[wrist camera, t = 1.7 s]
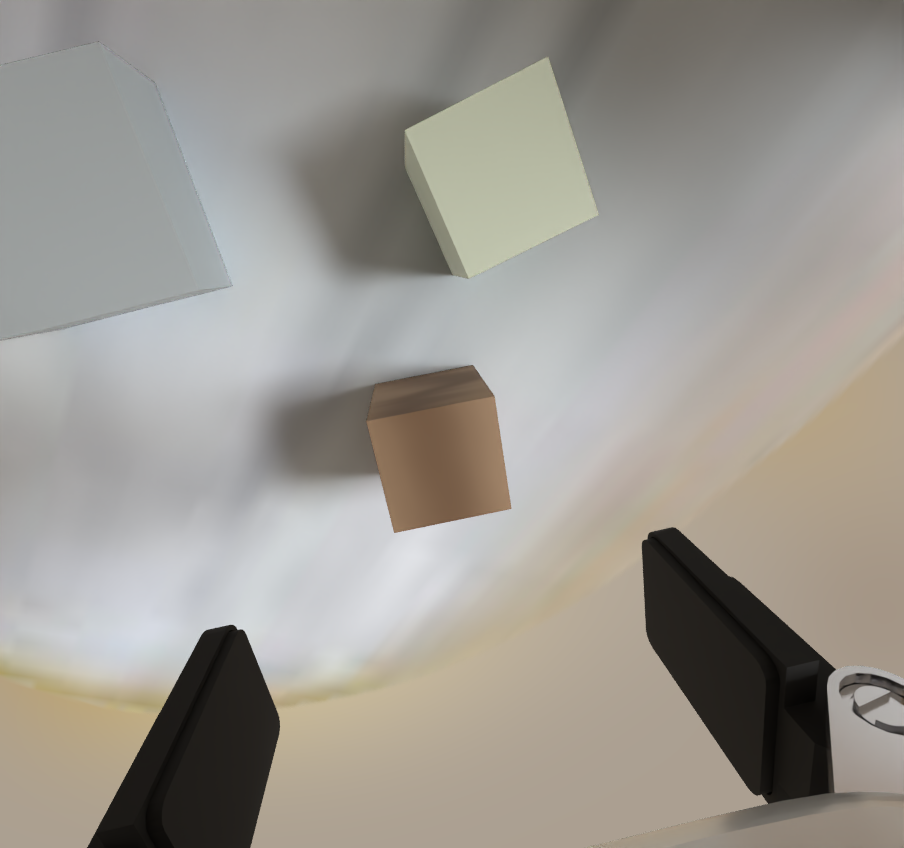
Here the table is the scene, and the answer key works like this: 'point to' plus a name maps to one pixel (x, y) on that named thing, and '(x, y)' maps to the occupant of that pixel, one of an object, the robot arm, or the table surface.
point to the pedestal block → (93, 196)
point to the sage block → (499, 171)
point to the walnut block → (438, 448)
